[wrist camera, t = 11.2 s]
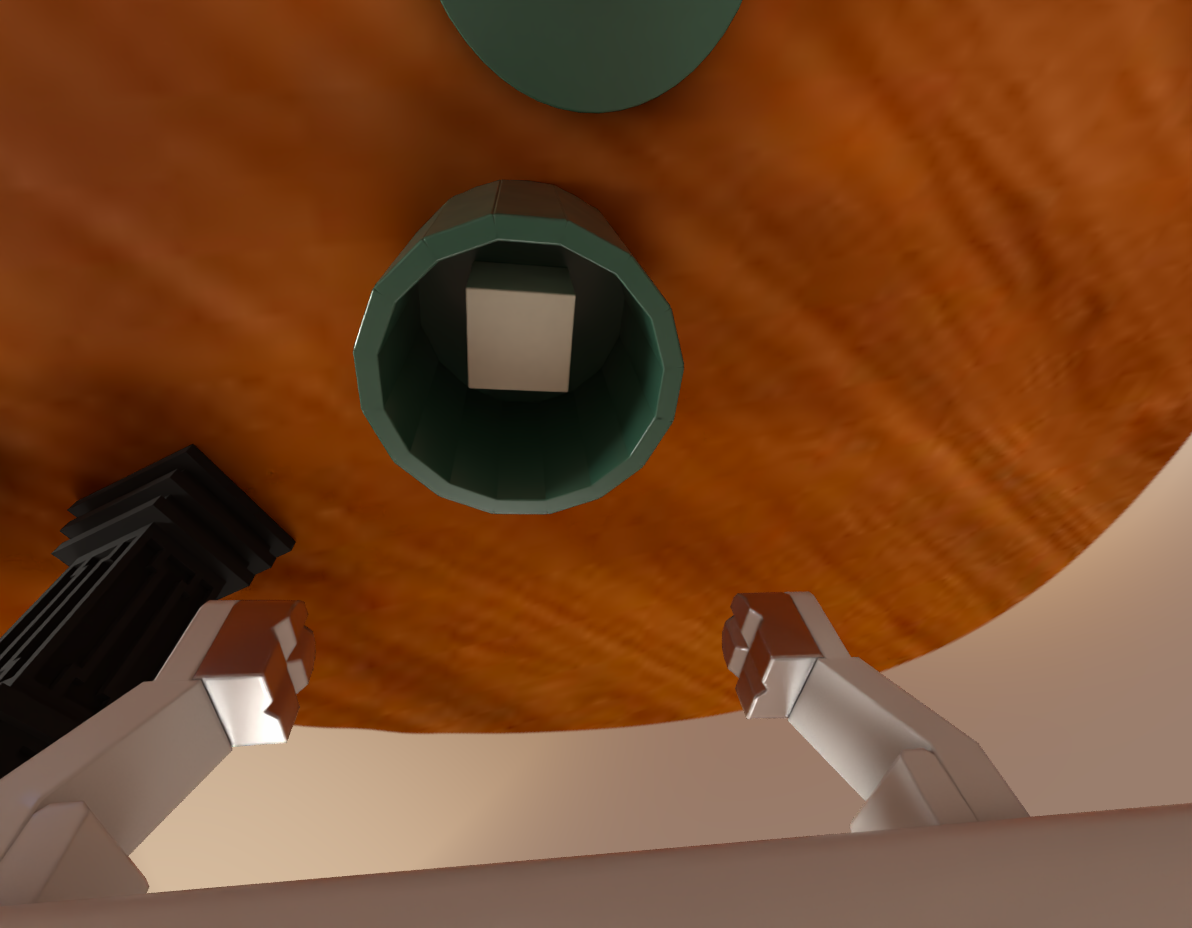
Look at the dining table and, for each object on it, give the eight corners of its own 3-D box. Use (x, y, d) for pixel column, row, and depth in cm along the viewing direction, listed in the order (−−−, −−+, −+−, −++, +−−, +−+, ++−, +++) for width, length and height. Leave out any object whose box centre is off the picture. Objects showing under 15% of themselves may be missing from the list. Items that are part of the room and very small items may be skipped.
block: (473, 260, 26) (465, 287, 22) (568, 267, 27) (576, 294, 23) (474, 351, 28) (467, 389, 25) (562, 355, 29) (568, 393, 25)
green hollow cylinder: (392, 167, 24) (330, 198, 16) (652, 192, 26) (711, 232, 18) (413, 406, 30) (375, 513, 22) (621, 413, 32) (655, 515, 24)
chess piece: (295, 542, 34) (84, 957, 18) (190, 589, 35) (-102, 1023, 19) (192, 443, 30) (-216, 871, 13) (77, 501, 31) (-437, 963, 14)
